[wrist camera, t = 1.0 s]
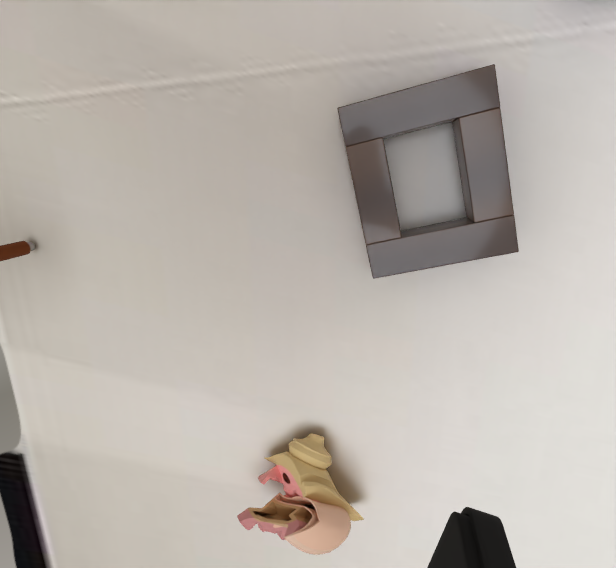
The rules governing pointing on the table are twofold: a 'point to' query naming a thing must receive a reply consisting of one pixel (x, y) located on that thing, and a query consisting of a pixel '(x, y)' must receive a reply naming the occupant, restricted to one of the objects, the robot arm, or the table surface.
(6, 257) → the magnifying glass
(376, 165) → the stand
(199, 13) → the table surface
